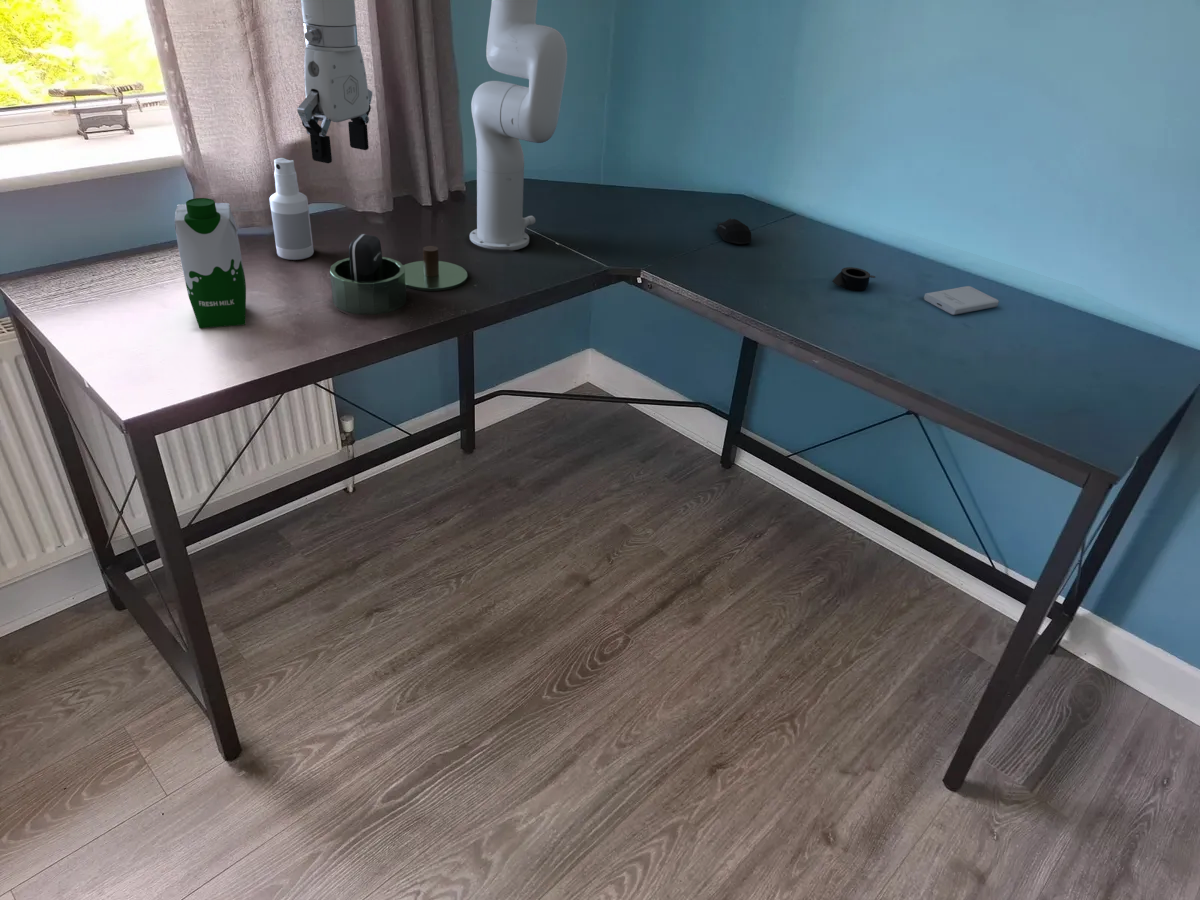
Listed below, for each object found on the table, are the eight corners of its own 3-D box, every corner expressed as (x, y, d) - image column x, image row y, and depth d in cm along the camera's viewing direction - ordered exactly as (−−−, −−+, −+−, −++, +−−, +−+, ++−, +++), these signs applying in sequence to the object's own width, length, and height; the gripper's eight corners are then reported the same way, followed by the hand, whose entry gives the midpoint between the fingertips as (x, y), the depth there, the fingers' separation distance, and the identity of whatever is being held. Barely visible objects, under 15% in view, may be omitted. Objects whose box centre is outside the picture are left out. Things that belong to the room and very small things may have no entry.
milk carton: (193, 331, 134) (167, 208, 123) (194, 308, 141) (170, 189, 129) (251, 327, 136) (231, 206, 125) (250, 304, 143) (231, 187, 132)
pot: (373, 282, 155) (370, 250, 151) (420, 302, 149) (419, 269, 146) (318, 302, 146) (314, 268, 143) (367, 324, 141) (364, 289, 137)
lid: (431, 261, 166) (430, 230, 163) (481, 280, 160) (482, 249, 157) (380, 279, 157) (377, 247, 153) (431, 300, 151) (430, 267, 147)
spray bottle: (269, 255, 162) (255, 160, 152) (293, 245, 167) (281, 153, 157) (298, 263, 160) (286, 167, 150) (321, 252, 165) (311, 159, 155)
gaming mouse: (732, 224, 200) (735, 207, 198) (754, 246, 188) (758, 229, 186) (707, 224, 199) (710, 207, 196) (728, 246, 187) (731, 229, 185)
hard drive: (996, 308, 169) (953, 315, 164) (965, 292, 175) (922, 299, 170) (999, 300, 168) (956, 308, 163) (968, 285, 174) (925, 291, 169)
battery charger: (374, 310, 145) (369, 246, 138) (353, 307, 145) (347, 244, 138) (386, 294, 151) (382, 232, 144) (366, 292, 151) (360, 230, 144)
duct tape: (825, 276, 176) (828, 263, 175) (872, 281, 176) (875, 268, 175) (831, 290, 170) (835, 277, 168) (880, 295, 170) (884, 282, 168)
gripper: (315, 46, 116) (327, 171, 125) (385, 34, 130) (392, 147, 139) (270, 39, 118) (286, 162, 127) (344, 28, 132) (353, 140, 141)
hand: (341, 154), depth 133 cm, fingers open, 9 cm apart
